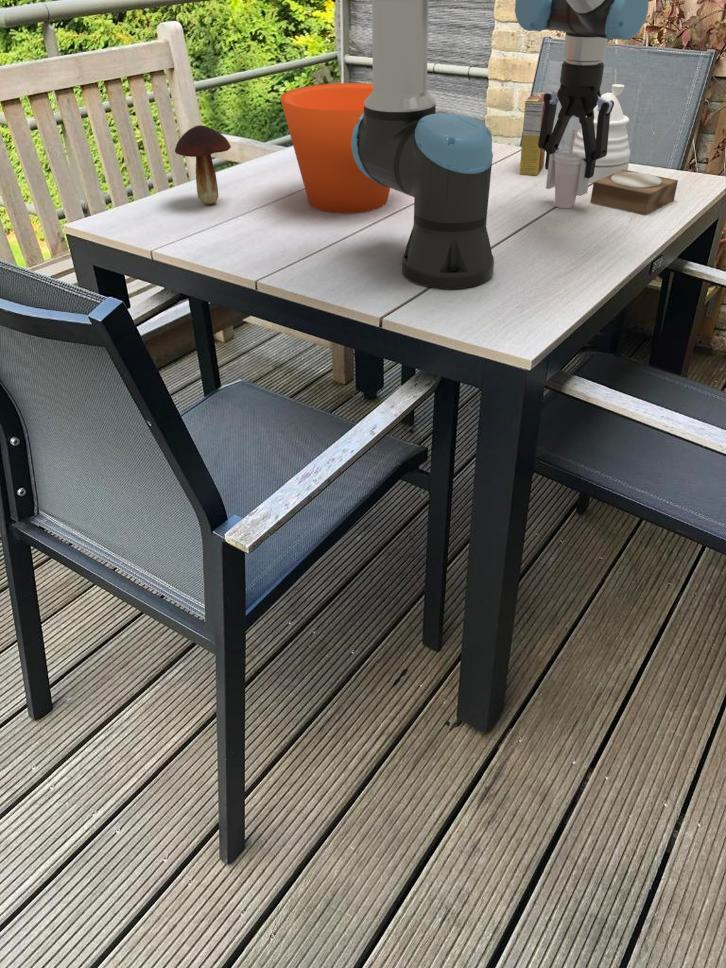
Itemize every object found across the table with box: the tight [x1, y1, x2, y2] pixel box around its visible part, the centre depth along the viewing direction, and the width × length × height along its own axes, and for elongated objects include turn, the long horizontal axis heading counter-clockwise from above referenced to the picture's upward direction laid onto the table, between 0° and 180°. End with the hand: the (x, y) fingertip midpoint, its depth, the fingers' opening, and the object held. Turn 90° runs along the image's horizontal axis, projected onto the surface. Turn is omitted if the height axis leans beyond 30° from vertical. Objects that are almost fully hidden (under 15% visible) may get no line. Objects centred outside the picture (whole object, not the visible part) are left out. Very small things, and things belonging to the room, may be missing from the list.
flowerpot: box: [279, 82, 391, 214], centre depth 163 cm, size 25×25×20 cm
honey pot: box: [573, 83, 631, 184], centre depth 176 cm, size 13×13×18 cm
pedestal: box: [590, 169, 679, 216], centre depth 165 cm, size 12×12×4 cm
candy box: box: [519, 92, 547, 177], centre depth 181 cm, size 9×4×15 cm, turn 160°
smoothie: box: [554, 129, 586, 209], centre depth 161 cm, size 6×6×14 cm
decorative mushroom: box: [174, 125, 232, 205], centre depth 164 cm, size 11×11×15 cm
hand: (566, 190), depth 163 cm, fingers closed on smoothie, 6 cm apart
